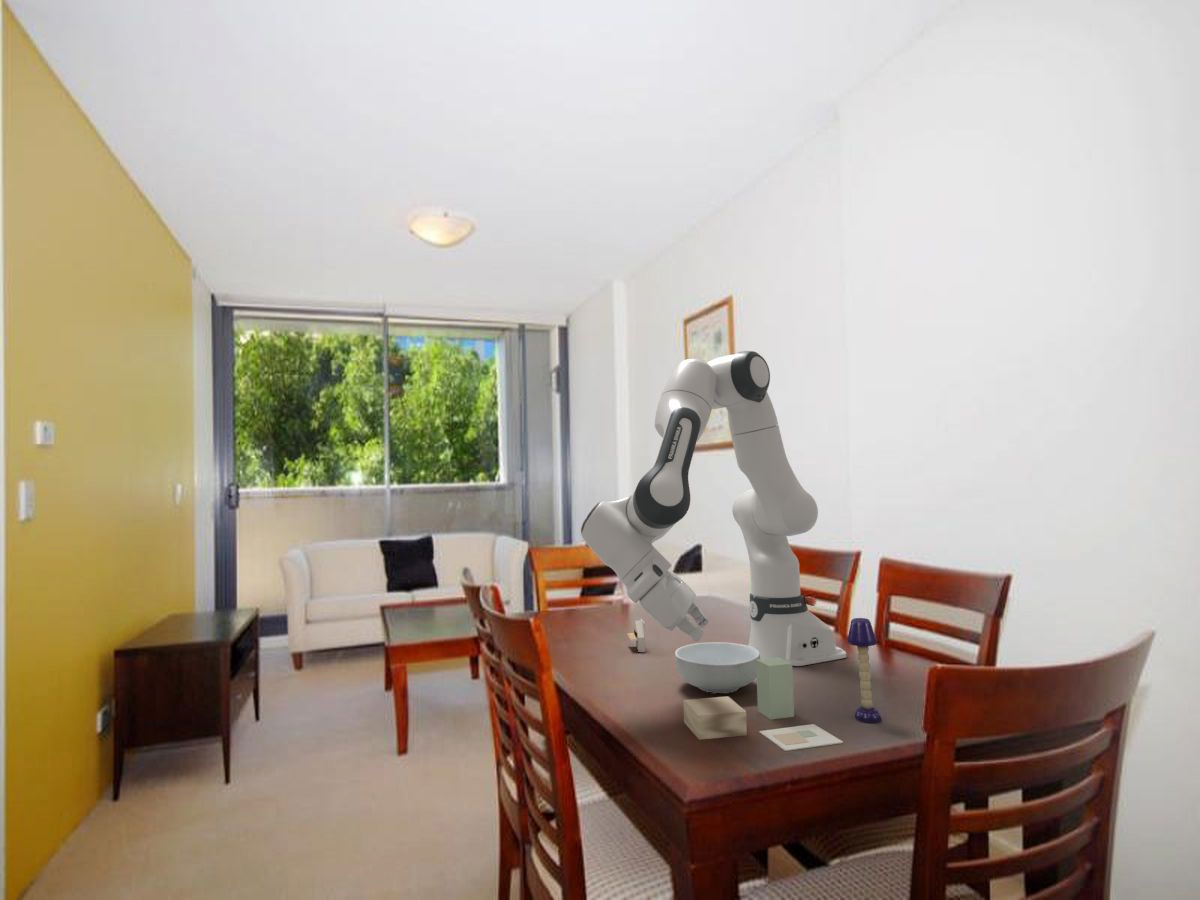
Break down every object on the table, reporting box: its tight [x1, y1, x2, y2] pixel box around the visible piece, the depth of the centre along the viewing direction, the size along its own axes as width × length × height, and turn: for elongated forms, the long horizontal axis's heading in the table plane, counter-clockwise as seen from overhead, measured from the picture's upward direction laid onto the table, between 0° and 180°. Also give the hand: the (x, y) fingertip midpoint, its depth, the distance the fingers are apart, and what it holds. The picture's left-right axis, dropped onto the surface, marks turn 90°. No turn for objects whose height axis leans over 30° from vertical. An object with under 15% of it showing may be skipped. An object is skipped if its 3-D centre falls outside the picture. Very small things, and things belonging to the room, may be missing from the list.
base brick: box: [682, 695, 748, 741], centre depth 111 cm, size 8×8×4 cm
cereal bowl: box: [674, 641, 760, 694], centre depth 133 cm, size 17×17×7 cm
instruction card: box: [758, 723, 844, 752], centre depth 106 cm, size 10×8×1 cm
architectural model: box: [627, 618, 647, 653], centre depth 165 cm, size 3×7×7 cm, turn 5°
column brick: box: [756, 657, 795, 720], centre depth 117 cm, size 4×4×9 cm
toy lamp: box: [847, 617, 882, 724], centre depth 114 cm, size 5×5×17 cm
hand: (703, 631), depth 121 cm, fingers open, 8 cm apart
